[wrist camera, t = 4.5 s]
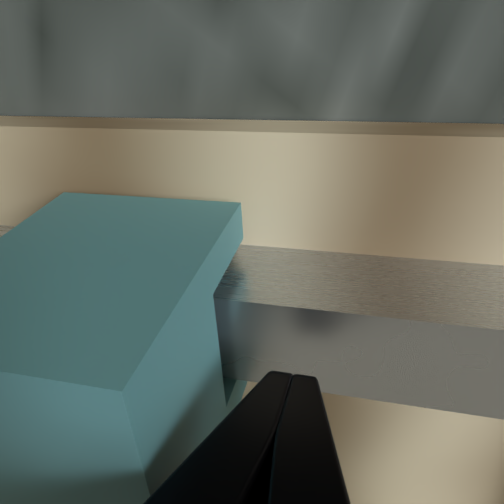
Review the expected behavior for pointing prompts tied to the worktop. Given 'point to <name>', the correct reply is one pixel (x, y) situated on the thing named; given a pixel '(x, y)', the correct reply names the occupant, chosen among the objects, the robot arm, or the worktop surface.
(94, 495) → the sliding leg
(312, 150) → the template board
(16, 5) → the worktop surface
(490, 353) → the rail
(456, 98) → the worktop surface
